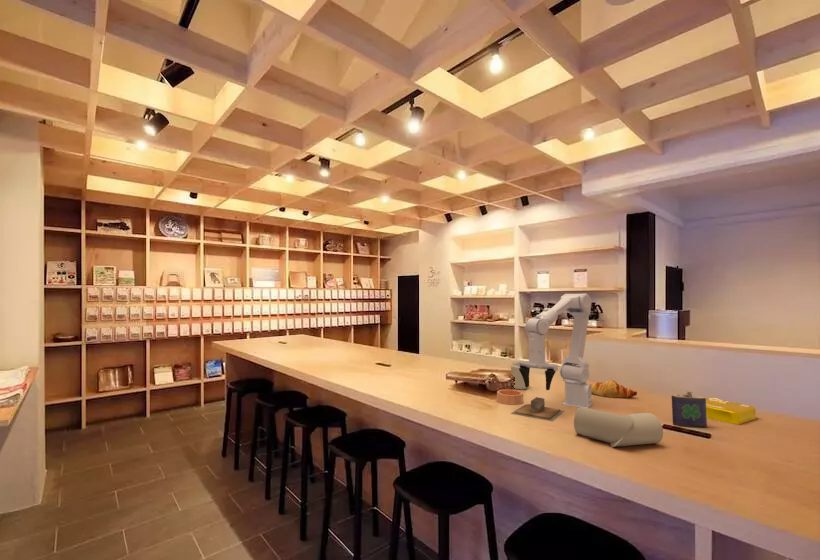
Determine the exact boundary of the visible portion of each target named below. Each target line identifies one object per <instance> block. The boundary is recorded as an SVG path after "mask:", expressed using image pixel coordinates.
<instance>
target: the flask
mask: <svg viewBox="0 0 820 560" xmlns="http://www.w3.org/2000/svg"><path fill="white" fill-rule="evenodd" d="M706 398H707V397H705V396H700V395H699V396H697V395H696V396H695V395H693V392H692V391H691V390H687V391H686V393H685V394H683V393H681V394H679V393H676V394H673V395H671V409H672V410H671V414H672V415H671V416H672V425H673V426H676V427H682V428H684V427H685V428H702V429H704V428H708V421H707V419H708V418H707V415H706Z"/></svg>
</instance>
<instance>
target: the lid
mask: <svg viewBox="0 0 820 560" xmlns="http://www.w3.org/2000/svg"><path fill="white" fill-rule="evenodd" d="M524 405H525V404H524ZM524 405H523V406H524ZM521 407H522V406H521ZM519 408H520V407H519ZM519 408H518V409H519ZM516 410H517V409H516ZM560 410H561V409H559V408H554V407H547V406H545V397H537V396H536V397H534V398H533V399H531V400H530V403H529V404H528V403H526V405H525V406H524V407H522V408H520V409H519V410H517V411H515V410H514V411H515V413H516V414H522V415H527V416H532V417H538V418H543V419H549V420H550V419H551V418H553V417H554V416H555V415H556V414H557V413H559V412H560Z"/></svg>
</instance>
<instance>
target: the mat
mask: <svg viewBox="0 0 820 560" xmlns="http://www.w3.org/2000/svg"><path fill="white" fill-rule="evenodd" d="M525 405H527V403H526V404H523V405H522V406H520V407H519V408H517V409H516V410H514V411H512V412H510V414H511V415H516V416H521V417H526V418H533V419H537V420H542V421H547V422H554V421H555V420H556V419H557V418H559V417H560V416H561V415H562V414H564V412H565V410H561V409H560V412H559V413H557V414H556V415H555V416H554V417H553V418H551V419H550V420H549V419H543V418H538V417H532V416H527V415H522V414H516V413H515V411H517V410H519V409H520V408H522V407H524V406H525Z"/></svg>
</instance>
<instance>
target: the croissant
mask: <svg viewBox="0 0 820 560" xmlns="http://www.w3.org/2000/svg"><path fill="white" fill-rule="evenodd" d="M589 384H590V383H589ZM590 385H591V395H595V396H599V397H605V398H617V399H618V398H621V399H622V398H624V399H628V398H633V397H634V396H635V397H636V396H637V394H638V391H636V390H633V389H631V388H629V387H625V386H624V385H622V384H618V383H617V382H616V381H615V380H612V379H610V380H606V381H605V382H599V381H598V382H596V383H591V384H590Z"/></svg>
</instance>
